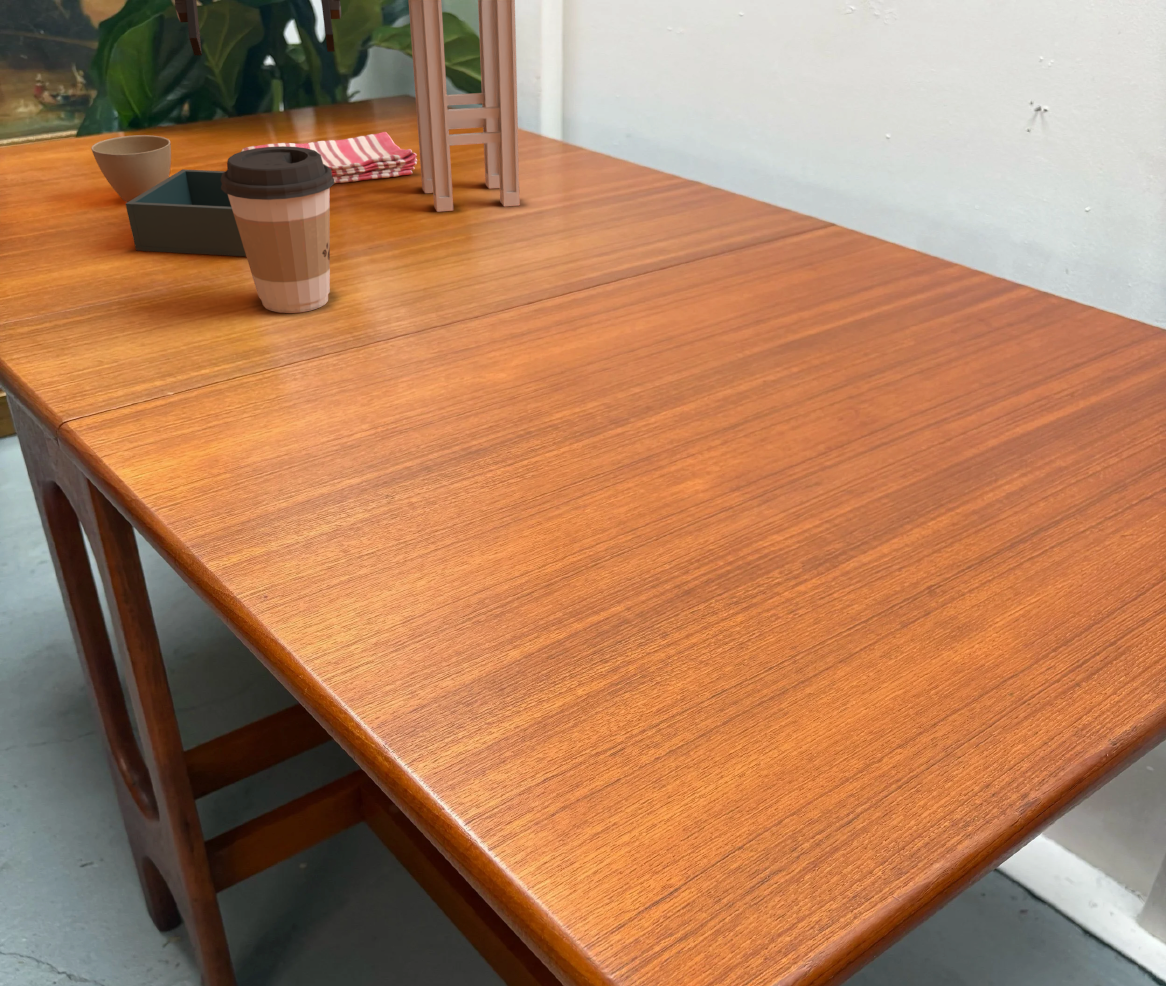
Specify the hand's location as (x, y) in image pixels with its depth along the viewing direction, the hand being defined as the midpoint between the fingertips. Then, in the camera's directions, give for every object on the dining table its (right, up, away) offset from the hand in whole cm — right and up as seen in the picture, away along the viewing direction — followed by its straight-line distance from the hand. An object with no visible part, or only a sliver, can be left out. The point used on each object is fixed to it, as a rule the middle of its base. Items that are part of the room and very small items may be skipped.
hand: (263, 45), depth 114 cm
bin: (-12, -12, +24) cm, 29 cm away
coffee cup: (+2, -25, +5) cm, 26 cm away
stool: (+18, -2, +38) cm, 42 cm away
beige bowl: (-27, -3, +36) cm, 46 cm away
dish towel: (-5, +6, +50) cm, 50 cm away
